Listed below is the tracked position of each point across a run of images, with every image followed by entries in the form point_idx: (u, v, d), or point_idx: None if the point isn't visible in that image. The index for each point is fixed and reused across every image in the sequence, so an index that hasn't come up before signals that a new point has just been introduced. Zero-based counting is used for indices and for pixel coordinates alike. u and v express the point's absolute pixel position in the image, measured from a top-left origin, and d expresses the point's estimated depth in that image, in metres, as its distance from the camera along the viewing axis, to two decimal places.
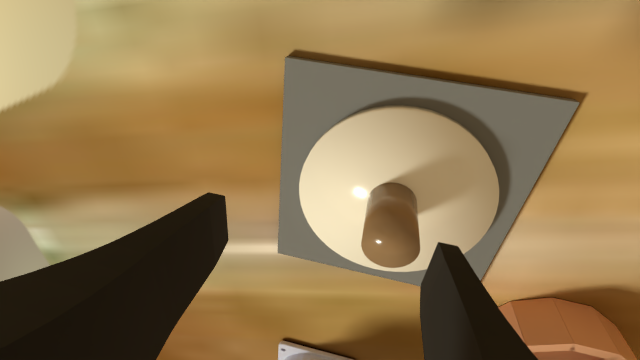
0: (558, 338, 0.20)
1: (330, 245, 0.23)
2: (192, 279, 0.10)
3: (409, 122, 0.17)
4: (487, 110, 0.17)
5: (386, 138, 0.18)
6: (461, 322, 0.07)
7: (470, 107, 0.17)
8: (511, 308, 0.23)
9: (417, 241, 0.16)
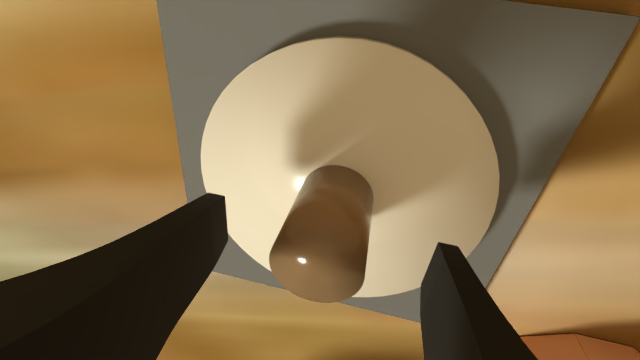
0: None
1: (259, 259, 0.16)
2: (192, 279, 0.10)
3: (350, 61, 0.10)
4: (479, 39, 0.10)
5: (317, 91, 0.11)
6: (461, 322, 0.07)
7: (451, 35, 0.10)
8: None
9: (358, 260, 0.09)
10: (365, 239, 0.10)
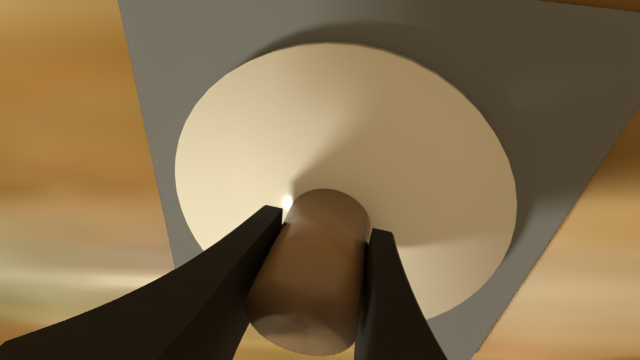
0: None
1: None
2: None
3: (341, 72, 0.09)
4: (496, 45, 0.08)
5: (303, 106, 0.09)
6: (372, 300, 0.07)
7: (462, 40, 0.08)
8: None
9: (350, 314, 0.08)
10: (359, 283, 0.09)
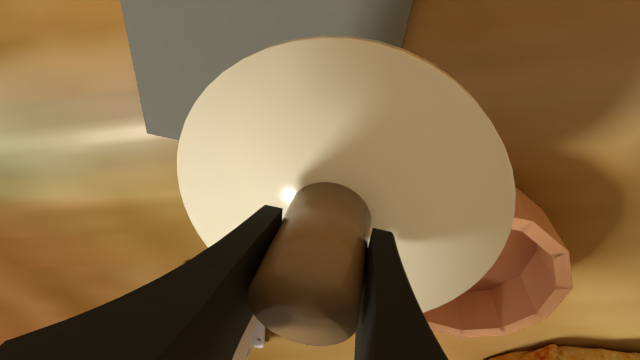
0: None
1: None
2: None
3: (336, 65, 0.09)
4: None
5: (300, 100, 0.10)
6: (372, 300, 0.07)
7: None
8: None
9: (350, 303, 0.08)
10: (359, 273, 0.09)
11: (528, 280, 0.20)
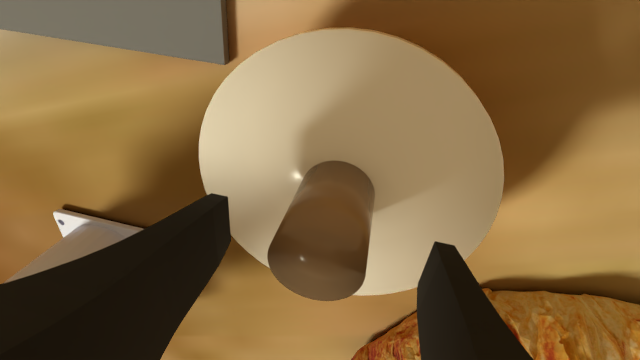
0: None
1: (265, 262, 0.16)
2: (196, 280, 0.10)
3: (338, 52, 0.10)
4: None
5: (308, 86, 0.11)
6: (456, 321, 0.07)
7: None
8: None
9: (357, 255, 0.09)
10: (365, 233, 0.10)
11: None
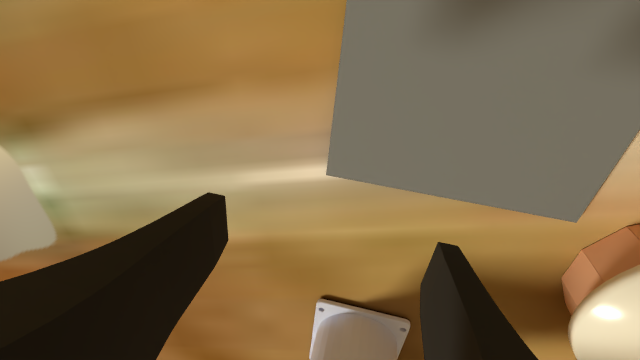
0: None
1: None
2: (192, 279, 0.10)
3: None
4: None
5: None
6: (461, 322, 0.07)
7: None
8: (629, 234, 0.18)
9: None
10: None
11: None
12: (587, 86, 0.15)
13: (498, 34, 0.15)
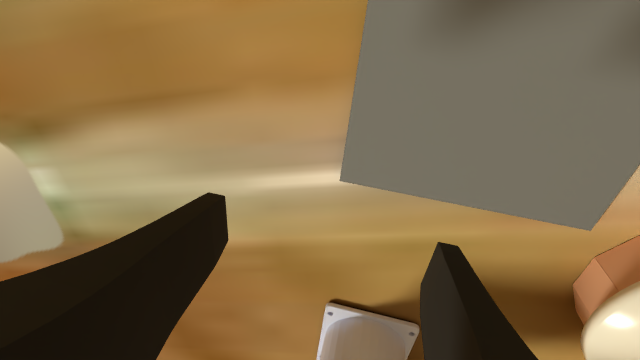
0: None
1: None
2: (192, 279, 0.10)
3: None
4: None
5: None
6: (461, 322, 0.07)
7: None
8: None
9: None
10: None
11: None
12: (607, 96, 0.15)
13: (519, 43, 0.15)
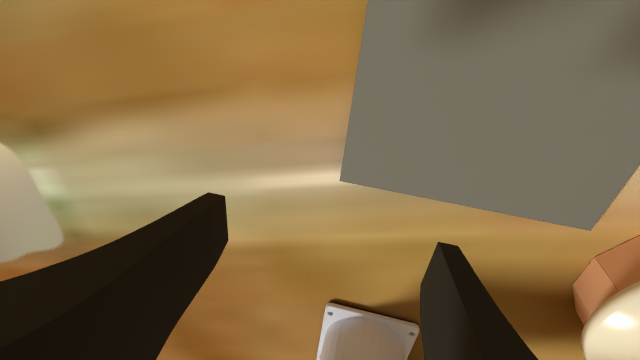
0: None
1: None
2: (192, 279, 0.10)
3: None
4: None
5: None
6: (461, 322, 0.07)
7: None
8: None
9: None
10: None
11: None
12: (607, 96, 0.15)
13: (519, 43, 0.15)
